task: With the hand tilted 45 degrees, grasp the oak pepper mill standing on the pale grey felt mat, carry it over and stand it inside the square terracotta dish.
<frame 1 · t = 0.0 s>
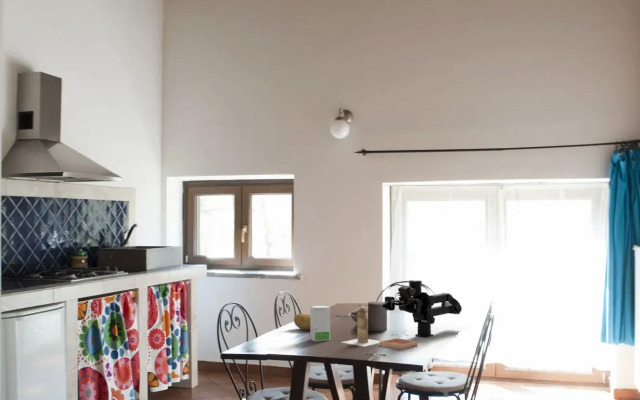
hand: (390, 306, 290), 17 cm above the table, tool horizontal, fingers open, 9 cm apart
skincare box: (320, 340, 300), on the table
pepper mill: (362, 324, 292), on the felt mat
felt mat: (362, 342, 292), on the table
pillar candle: (377, 330, 325), on the table
terracotta dish: (398, 346, 283), on the table
potato: (307, 330, 327), on the table
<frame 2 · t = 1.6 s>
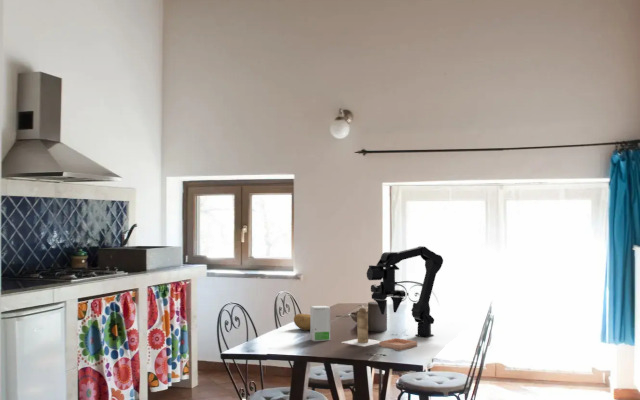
hand: (388, 313, 300), 12 cm above the table, tool pointing down, fingers open, 9 cm apart
nothing on the table moved.
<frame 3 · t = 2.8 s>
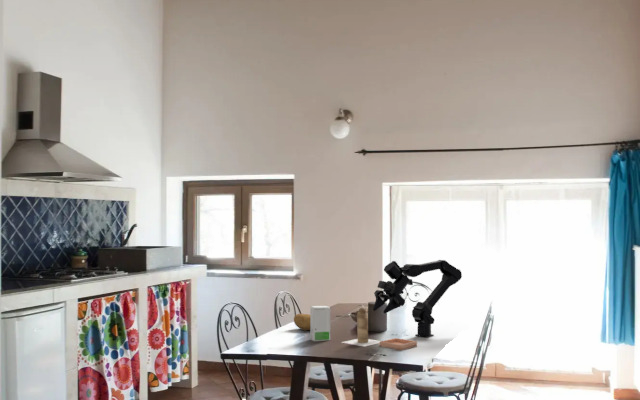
hand: (378, 311, 296), 13 cm above the table, tool tilted 45°, fingers open, 9 cm apart
nothing on the table moved.
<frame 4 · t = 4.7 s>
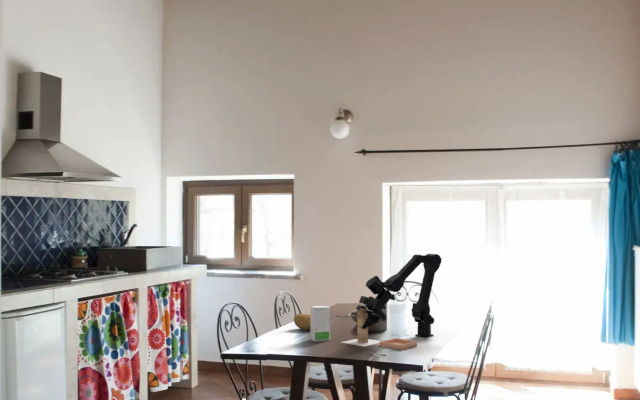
hand: (359, 327, 292), 7 cm above the table, tool tilted 45°, fingers closed on pepper mill, 5 cm apart
pepper mill: (362, 324, 292), on the felt mat, touching gripper
everything else where it was.
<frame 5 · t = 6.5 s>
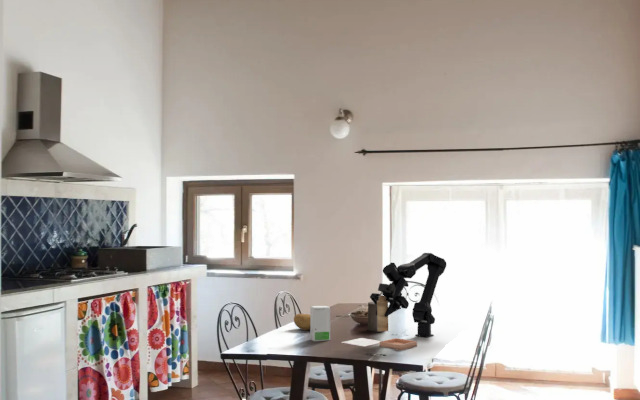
hand: (380, 315, 286), 13 cm above the table, tool tilted 45°, fingers closed on pepper mill, 5 cm apart
pepper mill: (382, 312, 287), point 14 cm above the table, touching gripper
everything else where it was.
when the fingers open (8 cm above the table, at t = 8.2 s): pepper mill stays where it is, resting on terracotta dish.
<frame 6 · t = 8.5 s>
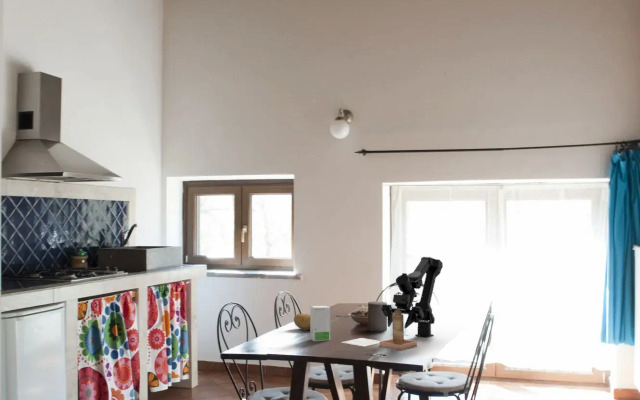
hand: (396, 327, 282), 9 cm above the table, tool tilted 45°, fingers open, 8 cm apart
pepper mill: (398, 327, 283), in the terracotta dish, point 8 cm above the table
everything else where it was.
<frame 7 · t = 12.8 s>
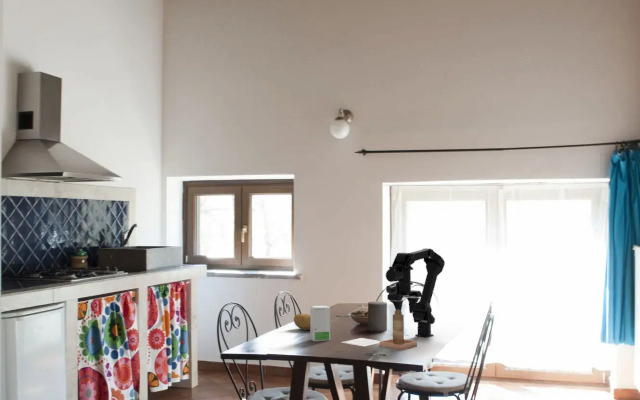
hand: (404, 314, 297), 12 cm above the table, tool pointing down, fingers open, 9 cm apart
nothing on the table moved.
at the end: pepper mill 0.1 cm from the terracotta dish (horizontally); pepper mill tilted 1°; pepper mill point 8.5 cm above the table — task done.
